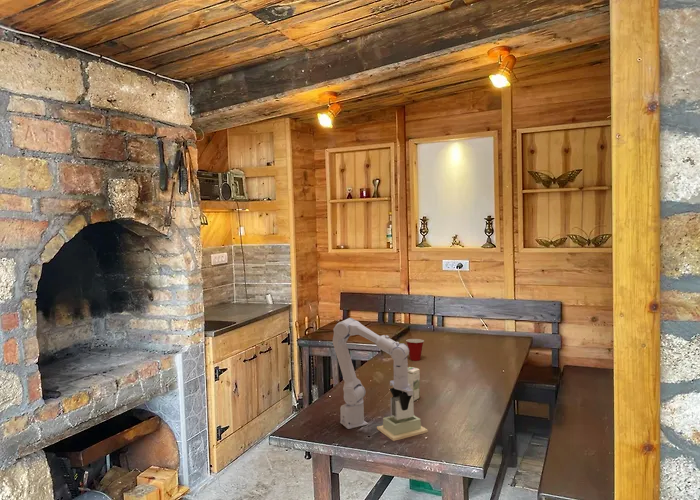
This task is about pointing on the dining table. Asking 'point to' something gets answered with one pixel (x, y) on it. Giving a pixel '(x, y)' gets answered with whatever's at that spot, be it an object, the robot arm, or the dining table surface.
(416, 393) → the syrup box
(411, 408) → the bracket
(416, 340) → the plastic cup
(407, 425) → the well
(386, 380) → the dining table surface
